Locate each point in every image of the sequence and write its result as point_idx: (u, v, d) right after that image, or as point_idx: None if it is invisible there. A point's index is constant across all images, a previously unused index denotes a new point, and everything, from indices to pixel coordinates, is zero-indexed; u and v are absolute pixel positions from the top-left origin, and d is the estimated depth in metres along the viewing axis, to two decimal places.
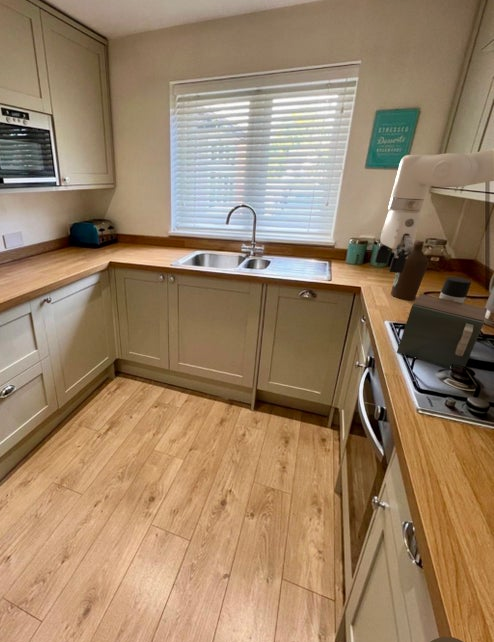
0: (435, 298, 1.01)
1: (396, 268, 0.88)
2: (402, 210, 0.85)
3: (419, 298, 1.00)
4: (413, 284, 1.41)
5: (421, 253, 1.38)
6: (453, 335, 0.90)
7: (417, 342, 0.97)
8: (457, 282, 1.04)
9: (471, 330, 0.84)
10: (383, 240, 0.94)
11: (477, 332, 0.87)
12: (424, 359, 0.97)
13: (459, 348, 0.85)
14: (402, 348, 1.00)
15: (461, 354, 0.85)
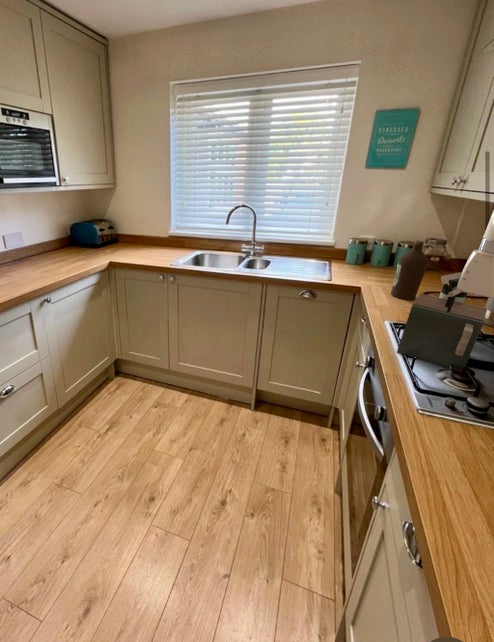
0: (435, 298, 1.01)
1: None
2: None
3: (419, 298, 1.00)
4: (413, 284, 1.41)
5: (421, 253, 1.38)
6: (453, 335, 0.90)
7: (417, 342, 0.97)
8: (457, 282, 1.04)
9: (471, 330, 0.84)
10: (472, 289, 0.79)
11: (477, 332, 0.87)
12: (424, 359, 0.97)
13: (459, 348, 0.85)
14: (402, 348, 1.00)
15: (461, 354, 0.85)
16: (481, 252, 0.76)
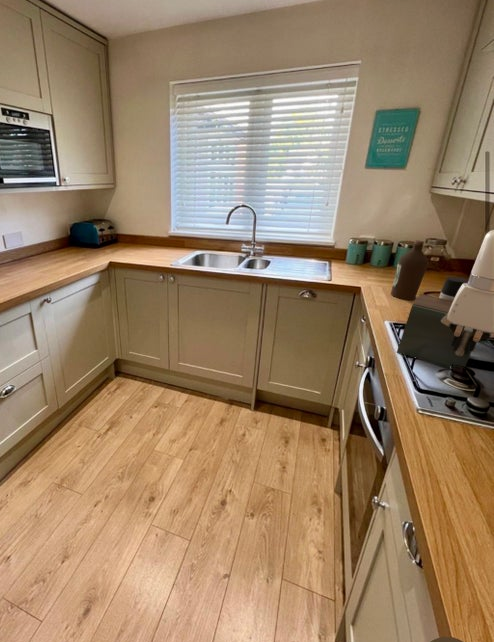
0: (435, 298, 1.01)
1: None
2: None
3: (419, 298, 1.00)
4: (413, 284, 1.41)
5: (421, 253, 1.38)
6: (453, 335, 0.90)
7: (417, 342, 0.97)
8: (457, 282, 1.04)
9: (471, 330, 0.84)
10: (461, 321, 0.82)
11: None
12: (424, 359, 0.97)
13: (459, 348, 0.85)
14: (402, 348, 1.00)
15: (461, 354, 0.85)
16: (469, 287, 0.79)
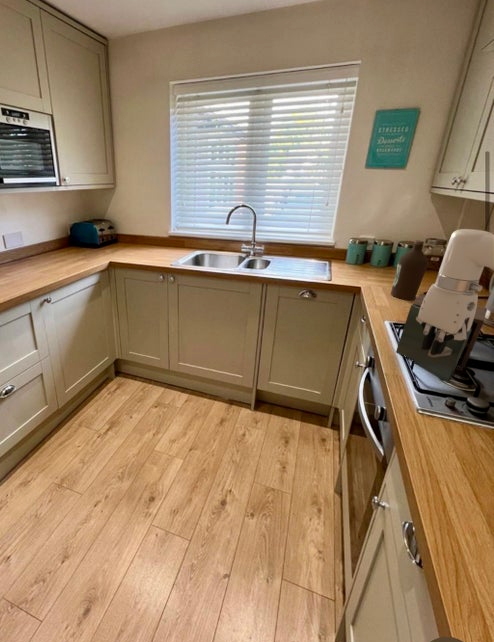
0: None
1: (439, 351, 0.82)
2: (462, 292, 0.74)
3: (419, 298, 1.00)
4: (413, 284, 1.41)
5: (421, 253, 1.38)
6: None
7: (413, 344, 0.96)
8: None
9: None
10: (427, 319, 0.82)
11: None
12: (417, 362, 0.95)
13: None
14: (400, 348, 1.00)
15: (432, 355, 0.84)
16: (434, 284, 0.80)
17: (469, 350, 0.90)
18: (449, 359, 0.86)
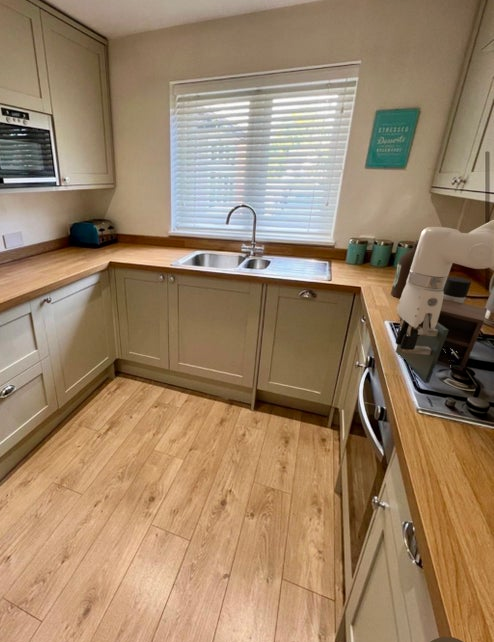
0: None
1: (408, 346, 0.84)
2: (424, 287, 0.77)
3: None
4: None
5: None
6: (426, 340, 0.87)
7: None
8: (457, 282, 1.04)
9: None
10: (401, 313, 0.85)
11: (439, 339, 0.82)
12: (407, 362, 0.95)
13: None
14: (398, 348, 1.00)
15: (405, 350, 0.86)
16: None
17: (469, 350, 0.90)
18: (428, 359, 0.86)
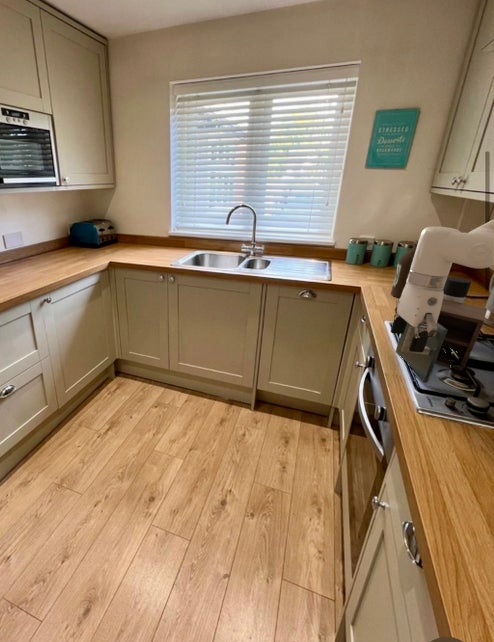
0: None
1: (417, 348, 0.80)
2: (424, 287, 0.77)
3: None
4: None
5: None
6: None
7: None
8: (457, 282, 1.04)
9: None
10: (401, 312, 0.85)
11: (438, 339, 0.82)
12: (407, 362, 0.95)
13: (403, 343, 0.87)
14: (398, 348, 1.00)
15: (403, 350, 0.86)
16: None
17: (469, 350, 0.90)
18: (427, 359, 0.86)
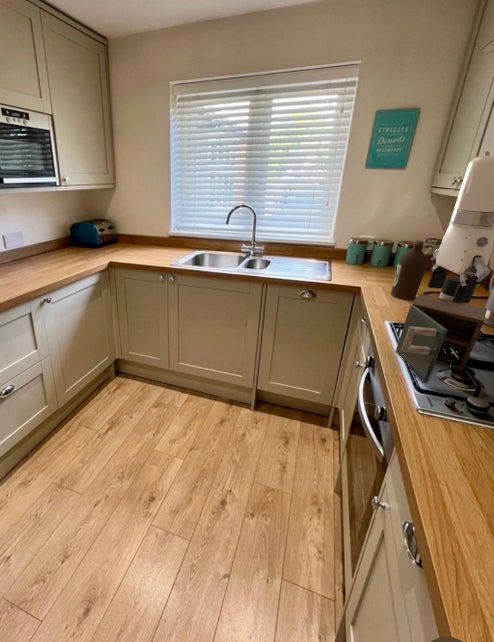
0: (435, 298, 1.01)
1: (463, 298, 0.71)
2: (472, 226, 0.68)
3: (419, 298, 1.00)
4: (413, 284, 1.41)
5: (421, 253, 1.38)
6: (425, 340, 0.87)
7: None
8: (457, 282, 1.04)
9: (417, 328, 0.84)
10: (441, 261, 0.76)
11: (438, 339, 0.82)
12: (407, 362, 0.95)
13: (403, 343, 0.87)
14: (398, 348, 1.00)
15: (403, 350, 0.86)
16: None
17: (469, 350, 0.90)
18: (427, 359, 0.86)
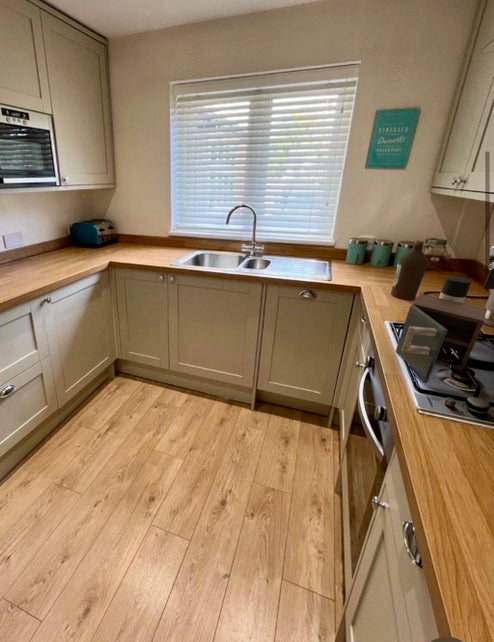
0: (435, 298, 1.01)
1: None
2: None
3: (419, 298, 1.00)
4: (413, 284, 1.41)
5: (421, 253, 1.38)
6: (425, 340, 0.87)
7: None
8: (457, 282, 1.04)
9: (417, 328, 0.84)
10: None
11: (438, 339, 0.82)
12: (407, 362, 0.95)
13: (403, 343, 0.87)
14: (398, 348, 1.00)
15: (403, 350, 0.86)
16: None
17: (469, 350, 0.90)
18: (427, 359, 0.86)
